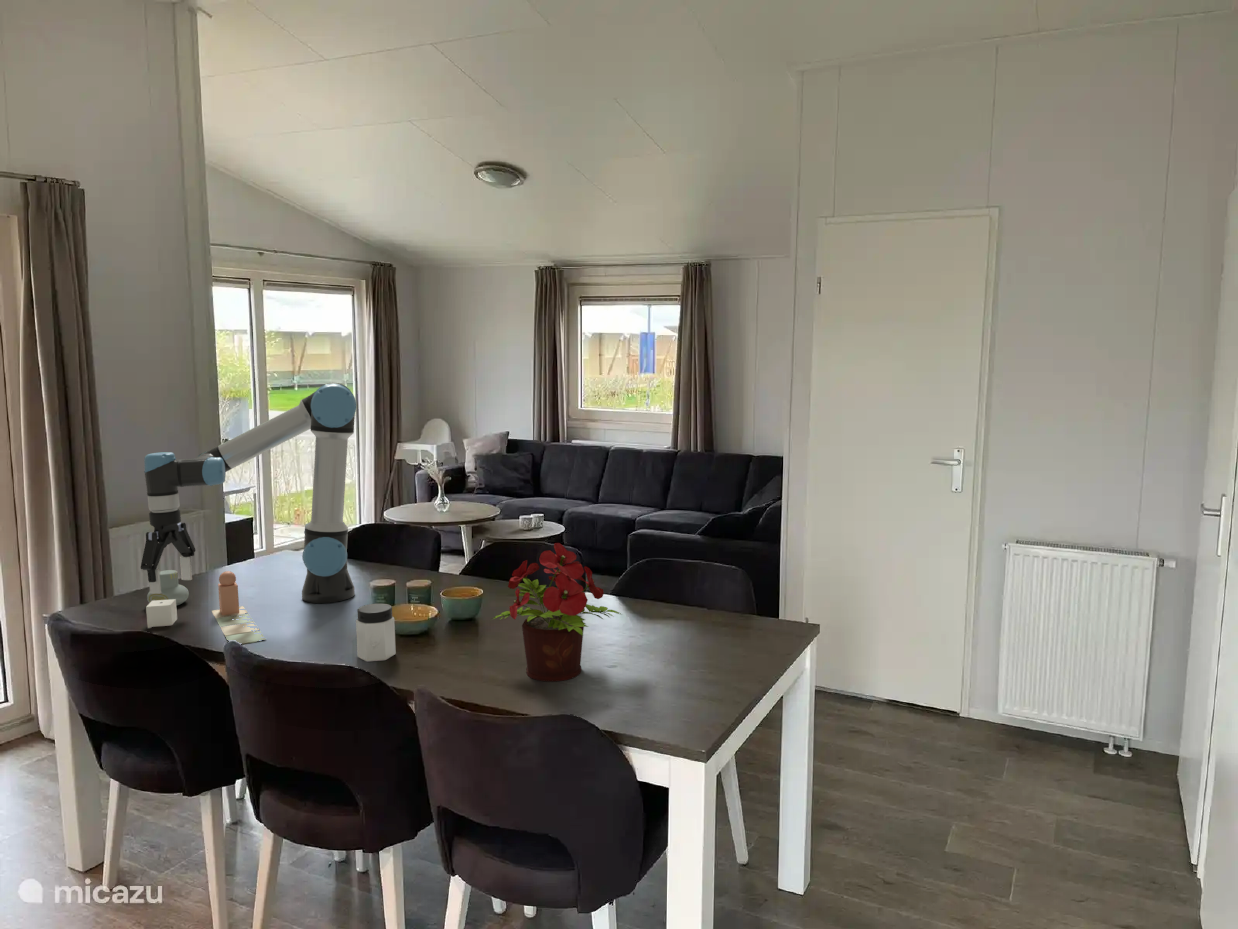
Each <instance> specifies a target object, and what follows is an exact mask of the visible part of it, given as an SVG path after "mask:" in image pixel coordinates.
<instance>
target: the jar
mask: <svg viewBox="0 0 1238 929" xmlns="http://www.w3.org/2000/svg"><path fill="white" fill-rule="evenodd" d="M356 611H357V619H356V620H355V630H356V650H357V652H356V653H357V654H356V655H357V658H359V659H361V660H362V661H364V662H368V663H369V662H380V661H381V662H382V661H386V660H388V659H390V658H391V657H394V655H396V653H397V652H396V631H395V630H396V627H395V617H394V616H393V607H392V605H390V604H387V603H369V604H365V605H361V606H360V607H358V608H357V610H356Z"/></svg>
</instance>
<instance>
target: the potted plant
mask: <svg viewBox="0 0 1238 929" xmlns="http://www.w3.org/2000/svg"><path fill="white" fill-rule="evenodd" d="M553 548H554V551H555V553H554V552H553V551H551V550H544V551H542V552H541V553H540V556H539V559H538V560H539V563H540V565H542V566H544V567H545V568H544V569H543V572H544V573H546V574H552V575H553V576H552V575H549V576H548V580H550V583H549V585H548V587H546V586H547V584H540V583H539V579H534V580H532V581H531V580H530V578H528V575H532V574H534V573H535V572H537V571H539V570H540V565H539V563H537V562H532V563H530V564H529V565H528V559H525V560H524V561H522V563H521V564H520V565H519V566H518V568H516V569H514V570H513V571H512V573H511V576H512V577H510V579H509V580H508V584H507V585H508V586H507V587H508V588H509V589H512V590H515V593H514V594H515V595H514V597H516V599H514V600H513V604H512V605H510V606H509V610H506V611H503V612H501V613H500V614H498V615H495V616H494V617H492V618H491V620H495V619H497V618H499V617H501V618H500V620H502V619H503V618H504V619H506V618H509V616H510V617H511V618H512V619H513V620H516V618H517V617H518V616H521V617H523V616H524V617H525V616H528V617H527V618H525V620H524V621H523V623H522V625H521V630H522V637H523V645H524V652H525V662H526V668H525V670H526V671H525V673H526V675H527V677H530V679H534V680H536V681H541V682H561V681H562V682H563V681H567V680H571V679H573V678H576V677H578V676H579V675H580V674H581V672H582V665H581V662H582V661H581V660H582V651H583V650H582V649H583V638H584V628H585V627H587V628H588V627H589V625H587V624H586V623H585V622H584V621H586V619H585V618H583V617H582V616H580V614H581V615H582V614H584V615H585V614H588V615H593V616H596V617H598V618H599V619H602V620H605V619H604V618H603V617H602V616H601V615H604V616H606V617H607V618H610V616H612V617H613V618H614V617H615V616H613V614H611V613H615V614H617V615H621V616H622V613H620V612H619V611H617V610H614V609H609V608H608V607H607V606H603V605H601V606H599V607H597V606H595V605H593V604H592V605H591V604H587V603H588V600H589V599H588V598H587V596H586V593H585V590H586V589H587V588H588V590H589V592H590V593H591V594H592V596H593V598H594V599H597V600H599V599H602V598H603V597H604V593H605V592H604V589H603V588H601V587H598V586H596V584H595V583H596V581H595V580H594V579H593V571H592V570H591V569H590V567H588V566H586V565H584V567H583V565H582V564H581V562H580V561H576V560H577V554H576V553H575V552H574V551H571V550H567V549H566V547H564V545H563V544H562V543H560V542H554V544H553ZM556 568H557V569H556ZM584 573H585V574H586V578H587V580H588V581H586V580H585V579H584V577H582V576H583V575H584ZM576 580H578V581H583V582H585V584H586V586H585V588H584V587H583V585H581V584H579V583H578V581H576ZM522 581H523V582H524V583H523V582H522ZM520 582H522V583H520ZM553 582H555V584H554V585H553V586H552V584H553ZM539 584H540V585H539ZM518 587H520V588H518ZM535 594H536V595H535ZM520 597H522V598H521V601H520ZM530 598H533V599H537V601H538V602H537V601H535V600H532V599H530ZM538 603H539V604H538ZM526 605H534V606H540V609H541V610H540V609H536V608H535V609H533V608H531V607H530V606H526ZM542 607H543V608H542ZM523 608H525V609H523ZM545 608H546V611H545ZM585 609H587V611H586V610H585ZM595 613H598V614H595ZM599 614H601V615H599Z"/></svg>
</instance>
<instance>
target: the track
mask: <svg viewBox="0 0 1238 929" xmlns="http://www.w3.org/2000/svg"><path fill="white" fill-rule="evenodd" d="M239 609H246V608H245V607H244V605H240V606H239ZM211 613H212V615H213V616H214V618H215V620H216V622H217V624H218V626H219V627H220V629H221V631H222V634H223V636H224V635H225V636H224V637H226V638H225V639H226V641H227V640H236V641H237V642H239V643H242V645H247V644H253V643H258V642H257V641H259V640H266V641H267V639H266V637H265V636H264V634H263V633H262V632H261V630H260V629H259V627H258V629H257V628H255V629H254V628H250V627H247V626H257V624H256V625H254V624H248V625H247V624H246V623H255V621H254V620H253V618H252V617H251V615H250V614H249V613H248V611H247V610H239V613H234V614H227V615H222V614H221V612H220V608H219V609H213V610H211ZM245 613H248V614H245ZM239 616H242V617H239ZM243 616H245V617H243ZM246 616H250V617H251V618H247V617H246ZM232 619H234V620H232ZM236 619H239V620H236ZM242 619H252V620H253V621H250V620H249V621H247V620H242ZM241 623H242V624H241ZM243 626H244V627H243ZM251 630H253V631H254V630H256V631H255V632H253V631H251ZM257 630H260V631H257ZM254 633H262V634H261V635H260V634H254ZM261 637H265V638H261Z"/></svg>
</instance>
